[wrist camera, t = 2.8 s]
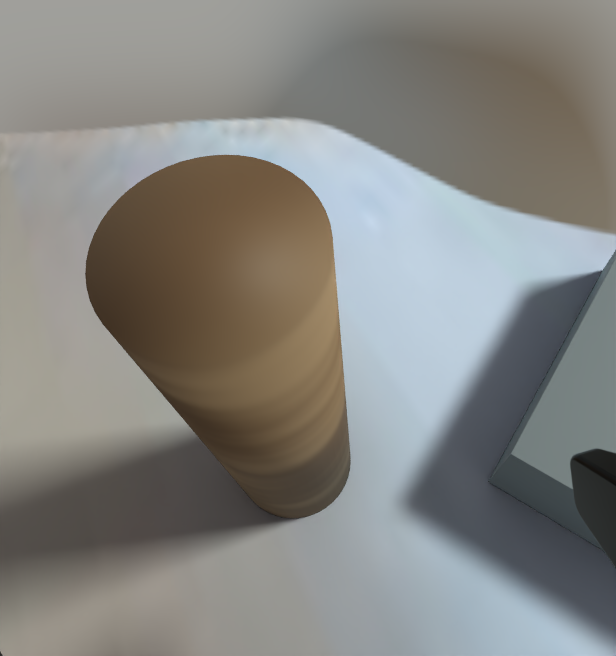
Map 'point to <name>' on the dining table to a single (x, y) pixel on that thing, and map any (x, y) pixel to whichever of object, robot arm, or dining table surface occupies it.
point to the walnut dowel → (234, 319)
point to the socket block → (568, 413)
